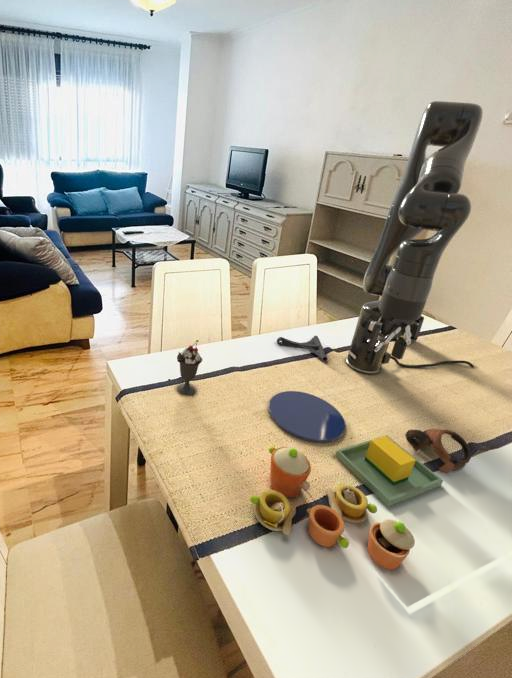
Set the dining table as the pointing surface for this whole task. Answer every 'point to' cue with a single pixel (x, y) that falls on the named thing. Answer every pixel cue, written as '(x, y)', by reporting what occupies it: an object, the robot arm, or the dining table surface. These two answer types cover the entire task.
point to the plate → (306, 416)
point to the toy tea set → (327, 511)
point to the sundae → (188, 368)
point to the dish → (384, 490)
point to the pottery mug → (439, 446)
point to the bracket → (306, 346)
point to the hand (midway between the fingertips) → (382, 360)
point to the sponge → (389, 460)
